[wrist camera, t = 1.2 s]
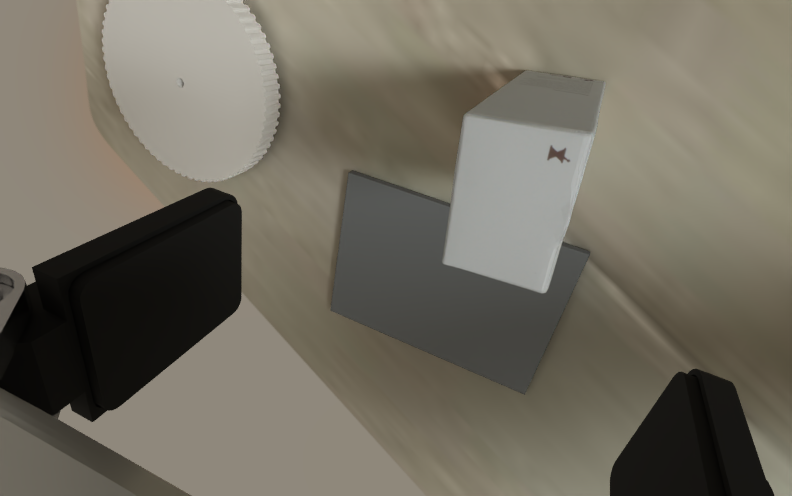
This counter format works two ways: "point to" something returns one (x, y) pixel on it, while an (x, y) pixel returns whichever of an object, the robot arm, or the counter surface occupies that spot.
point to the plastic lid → (193, 82)
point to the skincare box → (520, 177)
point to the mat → (440, 286)
